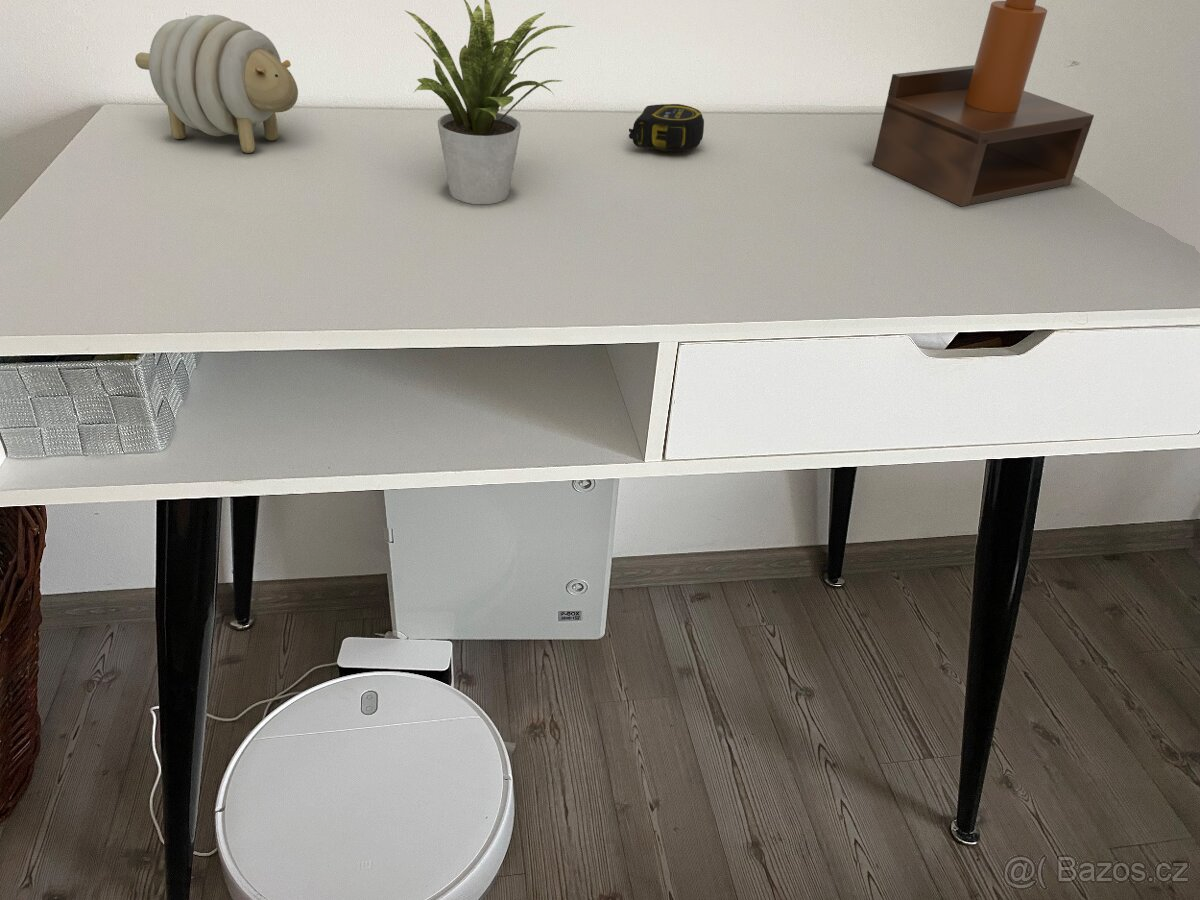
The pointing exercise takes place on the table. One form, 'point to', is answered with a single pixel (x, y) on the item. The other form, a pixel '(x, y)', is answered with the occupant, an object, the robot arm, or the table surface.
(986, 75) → the bottle
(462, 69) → the house plant
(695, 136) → the tape measure
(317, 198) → the table surface
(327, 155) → the table surface
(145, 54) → the toy sheep
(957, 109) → the box
